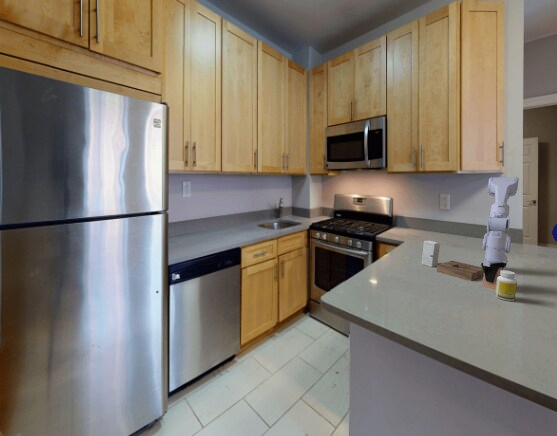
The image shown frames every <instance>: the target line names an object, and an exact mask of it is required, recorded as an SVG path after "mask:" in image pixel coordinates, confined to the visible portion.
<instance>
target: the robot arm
mask: <svg viewBox="0 0 557 436" xmlns="http://www.w3.org/2000/svg"><path fill="white" fill-rule="evenodd" d="M519 179H520V178H519V177H518V176H515V177H512V176H511V177H504V176H503V177H492V176H491V177H489V179H488V184H487V190H488V195H489V196H491V197H493V198H494V203H492V205H491V206H490V212H489V217H488V219H487V225H486V233H485V234H484V235H483V239H482V240H483V241H482V247H481V248H482V250H483V251H484V252H485V253H484V254H485V255H484V260H483V261H482V262H481V263H480V267H482V268H483V270H484V274H485V279H486V281H487V282H491V283H493V281H494V278H495V275H496V273H497V271H498V269H499V268H500V267H501V268H503V269H502V270H506V271H510V270H509V269H507V266H508V261H509V260H508V256H507V254H510V252H511V247H512V246H511V244H512V238H511V236H510V235H509V234H508V233H509V230H510V222H511V221H510V205H508V200H509V199H510V197H513V196H516V194H517V191H518V189H519V181H520V180H519ZM506 230H507V231H506Z"/></svg>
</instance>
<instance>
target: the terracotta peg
mask: <svg viewBox="0 0 557 436" xmlns="http://www.w3.org/2000/svg"><path fill="white" fill-rule="evenodd" d="M502 269H503V268H501V267H500V268H499V269H498V271H497V273H496V275H495V278H494V281H493V283H491V282H487V281H486V279H485V274H484V275H483V276H482V287H487V288H489V289H493V290H496V283H497V277H499V276H501V275H500V271H502Z"/></svg>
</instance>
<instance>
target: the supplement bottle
mask: <svg viewBox="0 0 557 436" xmlns="http://www.w3.org/2000/svg"><path fill="white" fill-rule="evenodd" d="M506 270H507V269H506ZM506 270H502V271H500V275H501V276H499V277H497V283H496V289H495V293H494V296H495V297H496V298H498V299H500V300H502V301H506V302H508V301H509V302H514V301H515V299H516V294H517V285H518V280H517V279H516V273H515V272H514V271H510V270H509V271H506Z"/></svg>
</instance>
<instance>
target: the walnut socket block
mask: <svg viewBox="0 0 557 436" xmlns="http://www.w3.org/2000/svg"><path fill="white" fill-rule="evenodd" d="M436 272H438V273H441V274H445V275H448V276H452V277H456V278H459V279H464V280H466V281H471V282H472V281H474V280H476V279H479V278H481V277H483V276H484V270H483V268H482V266H477V265H473V264H471V263H470V264H469V263H465V262H460V261H457V260H449V261H446V262H443V263H440V264H437V266H436Z"/></svg>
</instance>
